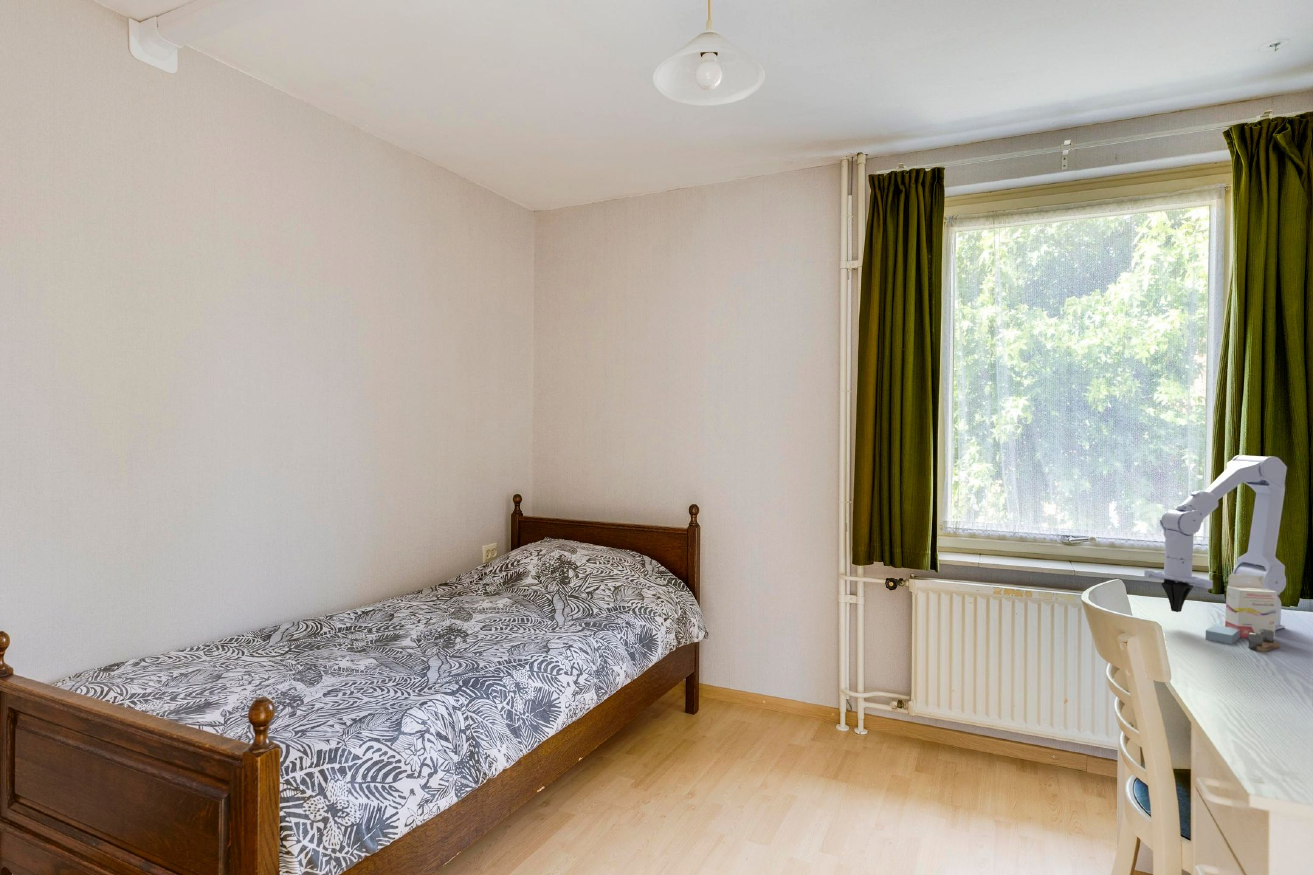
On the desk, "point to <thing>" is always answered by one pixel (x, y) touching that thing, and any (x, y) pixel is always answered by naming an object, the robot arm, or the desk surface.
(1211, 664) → the desk surface
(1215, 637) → the pale blue chamfered block
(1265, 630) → the bench dogs
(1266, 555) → the robot arm
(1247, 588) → the ink cartridge box
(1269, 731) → the desk surface
